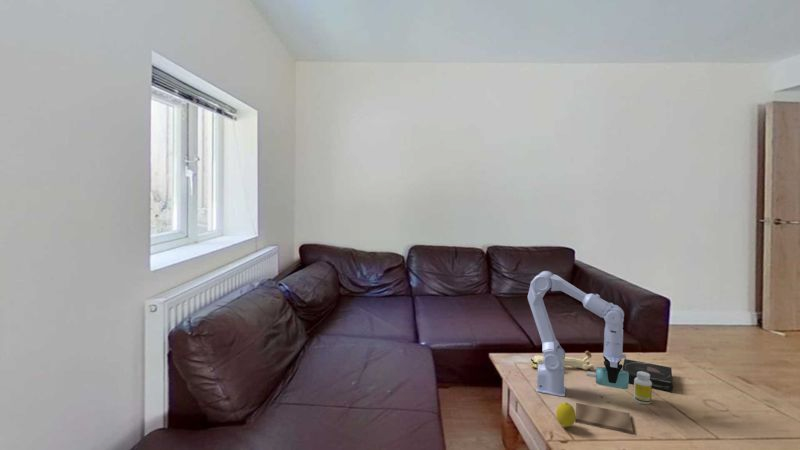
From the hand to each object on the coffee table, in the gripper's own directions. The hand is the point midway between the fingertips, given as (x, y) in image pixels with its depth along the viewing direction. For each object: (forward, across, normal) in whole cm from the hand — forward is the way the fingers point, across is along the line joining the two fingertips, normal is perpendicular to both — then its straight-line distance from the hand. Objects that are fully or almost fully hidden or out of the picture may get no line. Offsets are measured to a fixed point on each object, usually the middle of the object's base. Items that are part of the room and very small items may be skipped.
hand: (611, 379), depth 140 cm
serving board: (+8, -12, +3) cm, 15 cm away
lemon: (+9, -22, +14) cm, 27 cm away
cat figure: (+9, +24, +18) cm, 31 cm away
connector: (+2, 0, +1) cm, 2 cm away
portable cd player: (+9, +28, -14) cm, 32 cm away
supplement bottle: (+9, +7, -10) cm, 15 cm away
